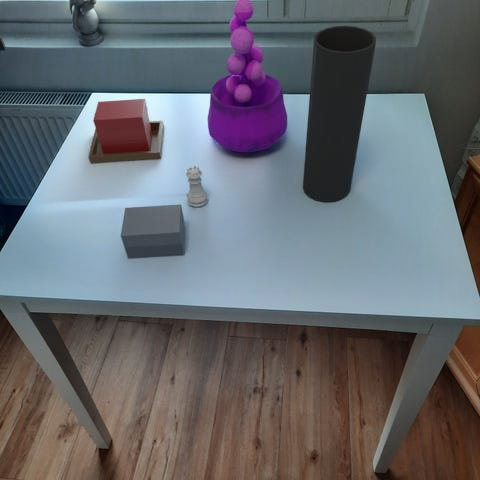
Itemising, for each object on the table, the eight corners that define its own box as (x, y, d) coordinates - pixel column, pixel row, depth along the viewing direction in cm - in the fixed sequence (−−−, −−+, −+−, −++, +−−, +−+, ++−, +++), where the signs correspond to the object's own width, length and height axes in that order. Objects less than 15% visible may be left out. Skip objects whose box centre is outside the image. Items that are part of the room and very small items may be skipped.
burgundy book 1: (96, 132, 107) (93, 120, 104) (101, 113, 112) (98, 101, 109) (145, 129, 107) (142, 117, 104) (147, 110, 111) (145, 98, 109)
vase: (360, 191, 101) (389, 41, 77) (321, 208, 98) (339, 58, 74) (330, 167, 106) (349, 20, 82) (293, 183, 103) (301, 35, 79)
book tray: (91, 166, 111) (88, 156, 108) (99, 134, 119) (96, 124, 117) (161, 162, 110) (159, 152, 108) (164, 130, 119) (163, 120, 116)
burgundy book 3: (103, 155, 112) (100, 144, 109) (108, 136, 116) (104, 125, 114) (150, 152, 111) (147, 141, 109) (152, 134, 116) (149, 122, 114)
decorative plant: (293, 157, 109) (301, 12, 85) (214, 167, 108) (200, 23, 84) (277, 115, 120) (280, -24, 97) (206, 124, 119) (190, -14, 95)
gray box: (128, 258, 92) (120, 235, 87) (131, 230, 96) (124, 207, 92) (184, 255, 92) (179, 232, 87) (185, 227, 96) (181, 204, 92)
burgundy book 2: (100, 144, 109) (96, 132, 107) (104, 125, 114) (101, 113, 112) (147, 141, 109) (144, 129, 107) (149, 122, 114) (147, 110, 111)
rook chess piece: (211, 197, 102) (207, 165, 95) (203, 210, 99) (199, 178, 93) (192, 193, 103) (187, 161, 97) (184, 205, 100) (178, 174, 94)
